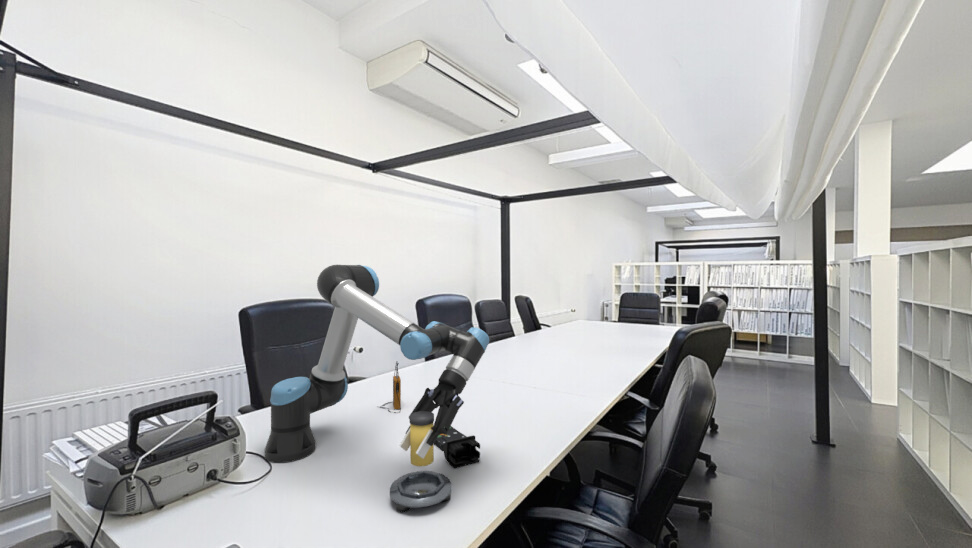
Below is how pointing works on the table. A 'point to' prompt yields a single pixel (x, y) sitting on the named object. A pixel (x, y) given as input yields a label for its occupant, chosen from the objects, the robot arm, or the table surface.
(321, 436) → the table surface
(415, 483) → the grey round dish
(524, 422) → the table surface
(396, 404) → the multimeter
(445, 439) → the disk drive
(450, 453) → the end cap
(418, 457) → the capped yellow cylinder
